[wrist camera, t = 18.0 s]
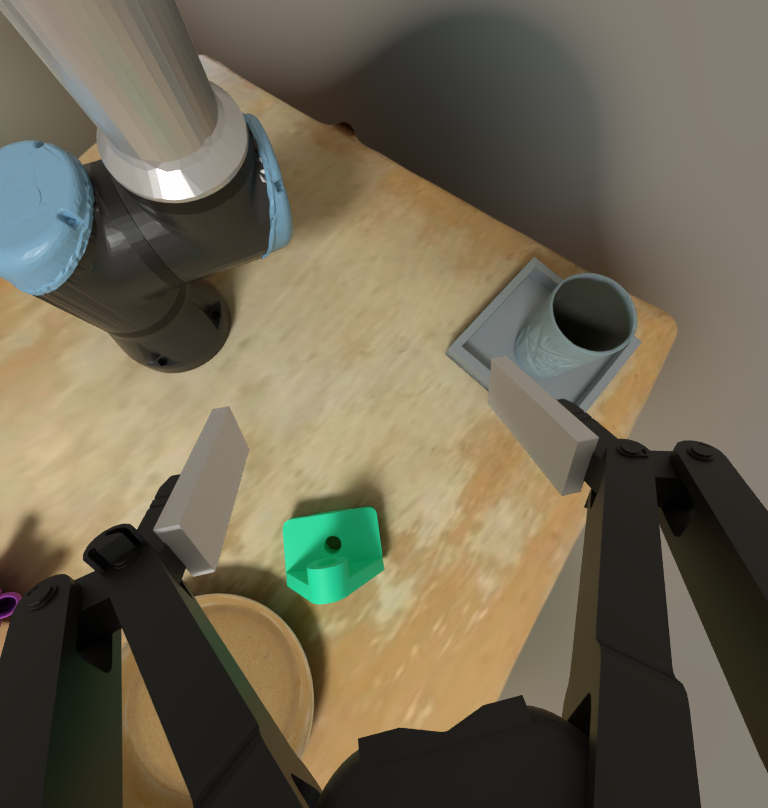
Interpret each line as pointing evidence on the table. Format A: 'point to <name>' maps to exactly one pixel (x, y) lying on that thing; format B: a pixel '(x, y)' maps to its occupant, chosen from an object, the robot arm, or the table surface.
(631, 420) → the table surface
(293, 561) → the camera mount
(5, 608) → the purple coral
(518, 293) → the tray
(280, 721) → the plant saucer
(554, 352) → the grey green cup
